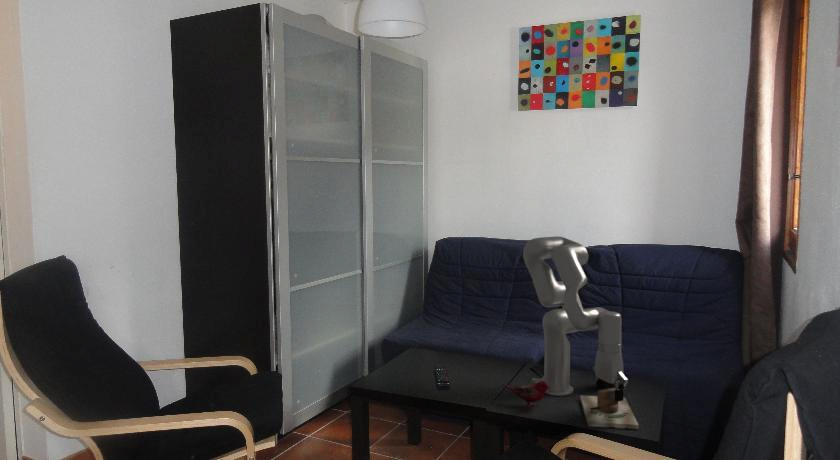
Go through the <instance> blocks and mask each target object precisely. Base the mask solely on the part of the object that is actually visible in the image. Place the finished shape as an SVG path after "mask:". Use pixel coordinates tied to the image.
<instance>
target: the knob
mask: <svg viewBox="0 0 840 460" xmlns="http://www.w3.org/2000/svg"><path fill="white" fill-rule="evenodd" d="M615 390H616V389H615V388H610V389H604V390H598V392H597V396H598V397H597V407H594V408H590V410H596V409H599V410H601V411H604V412H616V411H618V401H617V402H616V401H615Z"/></svg>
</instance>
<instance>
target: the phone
mask: <svg viewBox="0 0 840 460" xmlns="http://www.w3.org/2000/svg"><path fill="white" fill-rule="evenodd" d="M530 370H532V371H533V372H534V371H535V372H534V373H535V374H537V375H538V376H540V378H543V376H544V364H543V365H531V366H530Z"/></svg>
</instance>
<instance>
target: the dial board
mask: <svg viewBox="0 0 840 460" xmlns="http://www.w3.org/2000/svg"><path fill="white" fill-rule="evenodd" d="M579 396H580V397H579V401H580V403H581V407H582V410H583V415H584V417H585V420H586V424H587V427H593V428H594V427H595V428H598V427H599V428H609V427H615V428H614V429H625V428H628V430H639V428H640V427H639V423H638V420H637V419H636V417H635V415H634V413H633V411H632V409H631V406H630V405H629V403H628V401H627V398H626V397H623V401H618V411H616V412H604V411H601V410H599V409H596V410H590V408H594V407H597V397H598V395H583V394H582V395H581V394H580V395H579Z"/></svg>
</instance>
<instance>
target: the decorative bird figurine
mask: <svg viewBox="0 0 840 460" xmlns="http://www.w3.org/2000/svg"><path fill="white" fill-rule="evenodd" d="M502 386H503V387H505V388H507V389H508V390H510V391H512V392H513V393H515V394H516V396H517V397H519V398H520V399H521V400H523V401H524V402H526V403H525V405H526V406H530V407H534V408H535V407H539V406H538V405H535V404H532V403H537V402H538V401H540V400H542V399H543V398H544V396H545V394H546V393H545V392H546V391H547V389H550V388H549V387H548V386H547V383H546V382H544V381H541V382H538V383H534V384H532V385H523V386H519V387H513V386H508V385H506V384H502ZM515 394H514V395H515Z"/></svg>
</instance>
